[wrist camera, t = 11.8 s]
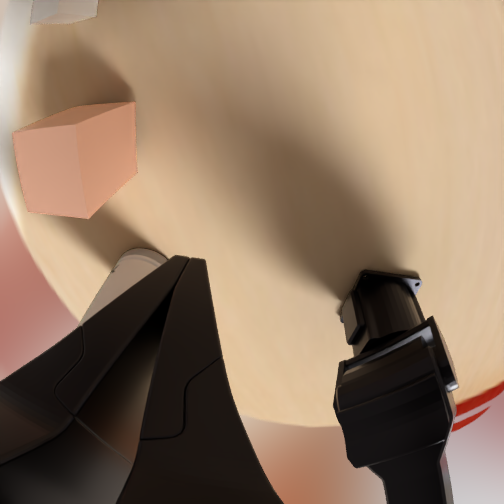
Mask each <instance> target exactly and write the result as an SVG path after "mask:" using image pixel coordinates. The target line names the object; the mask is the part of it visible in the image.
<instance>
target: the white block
mask: <svg viewBox="0 0 504 504" xmlns="http://www.w3.org/2000/svg"><path fill="white" fill-rule="evenodd" d="M97 7H98V0H33V6H32V13H31V20H30V25H32V24H72V23H75V22H79V21H82V20H86V19H90V18H93V17H96V15H97Z"/></svg>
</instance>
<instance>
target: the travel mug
mask: <svg viewBox="0 0 504 504" xmlns="http://www.w3.org/2000/svg"><path fill="white" fill-rule="evenodd" d="M166 261H167V259H166V258H165V257H164V256H162V255H160V254H159V253H157V252H154V251H152V250H149V249H143V248H136V249H131V250H128V251H127V252H125V253H124V254H123V255H122V256H121V258H120V259H119V260H118V262H117V263H116V265H115V267H114V268H113V269H112V271H111V273H110V274H109V276H108V277H107V279H106V280H105V282H104V283H103V285H102V287H101V288H100V290H99V291H98V293H97V295H96V296H95V298H94V299H93V301H92V303H91V304H90V306H89V308H88V309H87V311H86V313H85V315H84V316H83V318H82V320H81V321H80V323H79V325H78V326H80V325H81V326H82V324H83V323H84V322H85V321H86V320H88V319H89V318H90V317H92V316H93V315H94V314H95V313H97V312H98V311H99V310H101V309H102V308H103V307H105V306H106V305H107V304H109V303H110V302H111V301H113V300H114V299H115V298H117V297H118V296H119V295H121V294H122V293H123V292H125V291H126V290H127V289H129V288H130V287H131V286H133V285H134V284H135V283H137V282H138V281H140V280H141V279H142V278H144V277H145V276H146V275H148V274H149V273H151V272H152V271H153V270H155V269H156V268H157V267H159V266H160V265H162V264H163V263H164V262H166Z"/></svg>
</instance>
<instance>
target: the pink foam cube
mask: <svg viewBox="0 0 504 504" xmlns="http://www.w3.org/2000/svg"><path fill="white" fill-rule="evenodd" d="M12 136H13V143H14V150H15V156H16V162H17V167H18V172H19V177H20V182H21V186H22V191H23V195H24V199H25V203H26V207H27V210H28V212H32V213H41V214H50V215H58V216H67V217H76V218H84V219H89V218H90V217H91V216H92V215H93V214H94V213H95V212H96V211H97V210H98V209H99V208H100V207H101V206H102V205H103V204H104V203H105V202H106V201H107V200H108V199H109V198H110V197H111V196H113V195H114V194H115V193H116V192H117V191H118V190H119V189H120V188H121V187H122V186H123V185H124V184H125V183H126V182H128V181H129V180H130V179H131V178H132V177H133V176H134V175H135V174H137V173H138V172H137V154H136V120H135V102H119V103H105V104H94V105H85V106H76V107H73V108H70V109H67V110H65V111H62V112H59V113H57V114H54V115H51V116H49V117H46V118H44V119H42V120H39V121H37V122H35V123H32V124H30V125H28V126H26V127H23V128H21V129H19V130H17V131H15V132H13V133H12Z"/></svg>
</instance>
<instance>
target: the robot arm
mask: <svg viewBox="0 0 504 504" xmlns="http://www.w3.org/2000/svg"><path fill="white" fill-rule="evenodd" d="M365 275H367V276H366V277H364V276H365ZM417 282H418V283H417ZM421 285H422V281H421V279H420V278H419V277H412V276H405V275H398V274H391V273H384V272H377V271H370V270H364V271H362V272H361V273H360V274H359V276H358V279H357V281H356V283H355V286H354V288H353V290H351V291H350V292H349V295H348V297H347V299H346V301H345V303H344V306H343V308H342V314H341V316H340V321H341V322H342V323H344V328H345V334H346V340H347V343H348V345H352V347H353V353H354V357H353V358H351V359H348V360H344V361H341V362H339V367H338V375H337V381H336V388H335V394H334V402H333V408H334V410H335V413H336V417H337V419H338V421H339V423H340V425H341V427H342V430H343V433H344V438H345V444H346V452H347V458H348V460H349V461H350V462H351V464H352V465H353V466H354V467H355V468H361V467H365V466H366V467H368V468H369V469H370V470H371V471H372V472H373V473H375V474H376V475H377V476H378V477H379V478H380V479H382V481H383V485H384V490H385V495H386V501H387V504H454V503H453V495H452V488H451V481H450V475H449V470H448V465H447V459H446V454H445V449H446V446H447V443H448V440H449V436H450V433H451V430H452V426H453V423H454V419H455V415H456V405H455V402H454V398H453V394H452V391H453V390H455V389H457V388H459V385H458V381H457V376H456V372H455V368H454V364H453V361H452V358H451V355H450V352H449V350H448V347H447V345H446V342H445V340H444V337H443V335H442V333H441V331H440V329H439V327H438V325H437V323H436V321H435V319H434V317H433V315H432V316H431V317H429V318H427V320H426V321H425V318H424V316H423V313H422V311H421V308H420V306H419V303H418V301H417V298H416V296H415V295H416V293H417V292H418V290H419V288H420V287H421ZM0 504H284V503H283V502H282V500H281V499H280V498H279V496H278V495H277V493H276V492H275V490H274V489H273V487H272V485H271V484H270V482H269V480H268V478H267V477H266V475H265V473H264V471H263V469H262V467H261V465H260V463H259V460H258V458H257V456H256V453H255V451H254V449H253V447H252V444H251V442H250V440H249V437H248V435H247V433H246V430H245V428H244V426H243V423H242V421H241V418H240V416H239V413H238V410H237V407H236V405H235V402H234V399H233V396H232V393H231V389H230V386H229V382H228V378H227V374H226V369H225V364H224V360H223V355H222V350H221V345H220V339H219V334H218V329H217V323H216V318H215V312H214V307H213V301H212V295H211V289H210V283H209V277H208V271H207V265H206V261H205V259H200V258H189V257H187V256H180V255H175V256H173V257H171V258H170V259H169V260H167V261H166V262H164V263H163V264H162V265H160V266H159V267H157V268H156V269H155V270H153V271H152V272H151V273H149V274H148V275H146V276H145V277H144V278H142V279H141V280H140V281H138V282H137V283H135V284H134V285H133V286H131V287H130V288H129V289H127V290H126V291H125V292H123V293H122V294H121V295H119V296H118V297H117V298H115V299H114V300H113V301H111V302H110V303H109V304H107V305H106V306H105V307H103V308H102V309H101V310H99V311H98V312H97V313H95V314H94V315H93V316H92V317H90V318H89V319H88V320H86V321H85V322H84V323H83V324H82V326H81V325H80V326H78V327H77V328H76V329H75V330H73V331H72V332H71V333H70V334H68V335H67V336H66V337H64V338H63V339H62V340H61V341H59V342H58V343H56V344H55V345H54V346H52V347H51V348H49V349H48V350H46V351H45V352H43V353H42V354H41V355H39V356H38V357H36V358H35V359H33V360H32V361H30V362H29V363H27V364H26V365H24V366H23V367H21V368H20V369H18V370H17V371H15V372H14V373H12V374H11V375H9V376H8V377H6V378H5V379H3V380H1V381H0Z"/></svg>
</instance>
